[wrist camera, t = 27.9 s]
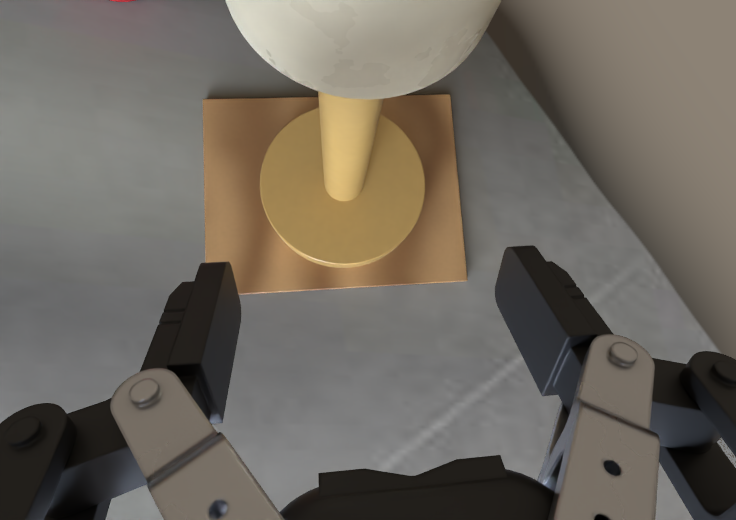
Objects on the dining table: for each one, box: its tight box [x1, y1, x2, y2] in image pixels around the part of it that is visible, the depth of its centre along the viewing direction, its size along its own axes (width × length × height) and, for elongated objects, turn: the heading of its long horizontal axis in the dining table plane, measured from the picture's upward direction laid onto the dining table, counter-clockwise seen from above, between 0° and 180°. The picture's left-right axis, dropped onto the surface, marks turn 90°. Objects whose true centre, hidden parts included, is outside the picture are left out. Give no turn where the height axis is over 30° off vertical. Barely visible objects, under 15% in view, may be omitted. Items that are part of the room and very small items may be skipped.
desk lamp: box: [225, 0, 501, 268], centre depth 18 cm, size 11×11×24 cm
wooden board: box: [203, 95, 467, 295], centre depth 30 cm, size 18×14×1 cm
